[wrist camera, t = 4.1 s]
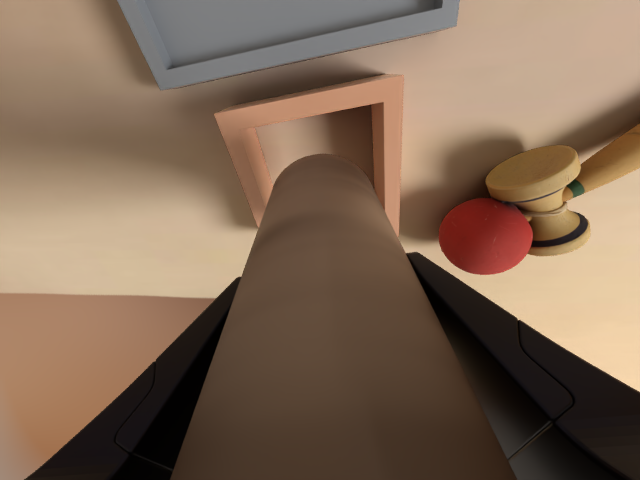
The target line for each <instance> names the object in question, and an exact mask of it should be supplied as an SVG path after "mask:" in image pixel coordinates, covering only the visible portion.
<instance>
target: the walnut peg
mask: <svg viewBox="0 0 640 480" xmlns="http://www.w3.org/2000/svg"><path fill="white" fill-rule="evenodd" d="M170 480H517V478H516V476H515V474H514V472H513V470H512V468H511V466H510V464H509V462H508V460H507V458H506V456H505V454H504V452H503V449H502V447H501V445H500V443H499V441H498V439H497V437H496V435H495V433H494V431H493V429H492V427H491V425H490V423H489V421H488V419H487V417H486V415H485V413H484V411H483V409H482V407H481V405H480V403H479V401H478V399H477V397H476V395H475V393H474V391H473V389H472V387H471V385H470V383H469V381H468V379H467V377H466V375H465V373H464V371H463V369H462V367H461V365H460V362H459V360H458V358H457V356H456V354H455V352H454V350H453V348H452V346H451V344H450V342H449V340H448V338H447V336H446V334H445V332H444V330H443V328H442V326H441V324H440V322H439V320H438V318H437V316H436V314H435V312H434V310H433V308H432V306H431V304H430V302H429V300H428V298H427V296H426V294H425V292H424V290H423V288H422V286H421V284H420V282H419V280H418V278H417V275H416V273H415V271H414V269H413V267H412V265H411V263H410V261H409V259H408V257H407V255H406V253H405V251H404V249H403V247H402V245H401V243H400V241H399V239H398V237H397V235H396V233H395V231H394V229H393V227H392V225H391V223H390V221H389V219H388V217H387V215H386V213H385V211H384V209H383V207H382V205H381V203H380V201H379V199H378V197H377V195H376V193H375V191H374V188H373V186H372V184H371V182H370V180H369V179H368V177H367V176H366V174H365V173H364V172H363V171H362V169H360V168H359V167H358V166H357V165H356V164H354V163H353V162H351V161H350V160H347V159H345V158H343V157H340V156H336V155H330V154H316V155H310V156H306V157H304V158H301V159H299V160H297V161H295V162H293V163H292V164H290V165H289V166H288V167H286V168H285V169H284V170H283V172H282V173H281V174H280V175H279V177H278V178H277V180H276V182H275V184H274V186H273V189H272V192H271V194H270V197H269V200H268V203H267V206H266V209H265V212H264V214H263V217H262V220H261V223H260V226H259V229H258V231H257V234H256V237H255V240H254V243H253V246H252V248H251V251H250V254H249V257H248V260H247V263H246V265H245V268H244V271H243V274H242V277H241V280H240V282H239V285H238V288H237V291H236V294H235V297H234V299H233V302H232V305H231V308H230V311H229V314H228V316H227V319H226V322H225V325H224V328H223V331H222V333H221V336H220V339H219V342H218V345H217V348H216V350H215V353H214V356H213V359H212V362H211V365H210V367H209V370H208V373H207V376H206V379H205V382H204V384H203V387H202V390H201V393H200V396H199V399H198V401H197V404H196V407H195V410H194V413H193V416H192V418H191V421H190V424H189V427H188V430H187V433H186V436H185V438H184V441H183V444H182V447H181V450H180V453H179V455H178V458H177V461H176V464H175V467H174V470H173V472H172V475H171V478H170Z"/></svg>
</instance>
